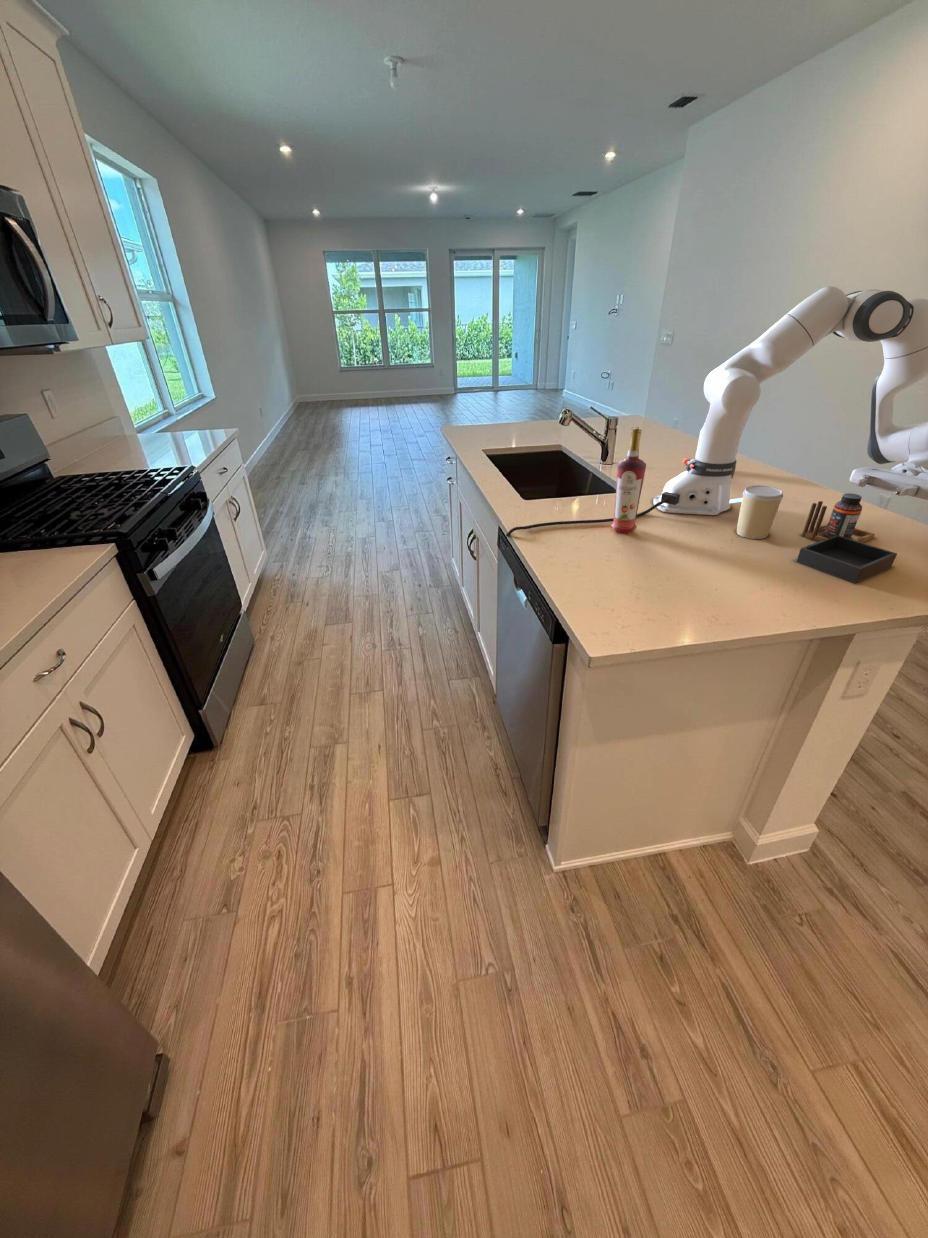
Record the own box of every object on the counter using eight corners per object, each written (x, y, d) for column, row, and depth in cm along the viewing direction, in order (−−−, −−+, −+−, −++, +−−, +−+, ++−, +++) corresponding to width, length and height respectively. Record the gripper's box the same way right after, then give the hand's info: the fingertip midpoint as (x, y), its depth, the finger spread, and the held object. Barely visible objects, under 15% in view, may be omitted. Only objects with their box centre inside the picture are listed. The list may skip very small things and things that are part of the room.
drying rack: (843, 549, 128) (857, 515, 123) (800, 535, 136) (811, 503, 131) (873, 538, 133) (887, 505, 128) (830, 525, 141) (841, 493, 136)
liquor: (638, 527, 146) (653, 425, 131) (634, 536, 140) (649, 431, 125) (612, 524, 149) (624, 424, 134) (607, 533, 143) (619, 430, 128)
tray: (855, 583, 113) (861, 569, 111) (796, 561, 123) (800, 548, 121) (891, 567, 119) (897, 553, 117) (831, 547, 129) (836, 534, 127)
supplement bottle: (818, 533, 137) (832, 492, 131) (839, 531, 137) (854, 490, 131) (834, 542, 132) (849, 500, 126) (856, 540, 132) (872, 498, 126)
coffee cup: (768, 528, 141) (780, 486, 135) (773, 541, 134) (787, 497, 127) (731, 525, 144) (741, 484, 137) (734, 538, 136) (745, 495, 130)
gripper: (870, 458, 145) (842, 467, 139) (957, 475, 129) (929, 485, 124) (862, 480, 148) (834, 489, 143) (946, 499, 132) (918, 510, 127)
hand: (879, 487), depth 133 cm, fingers open, 8 cm apart
